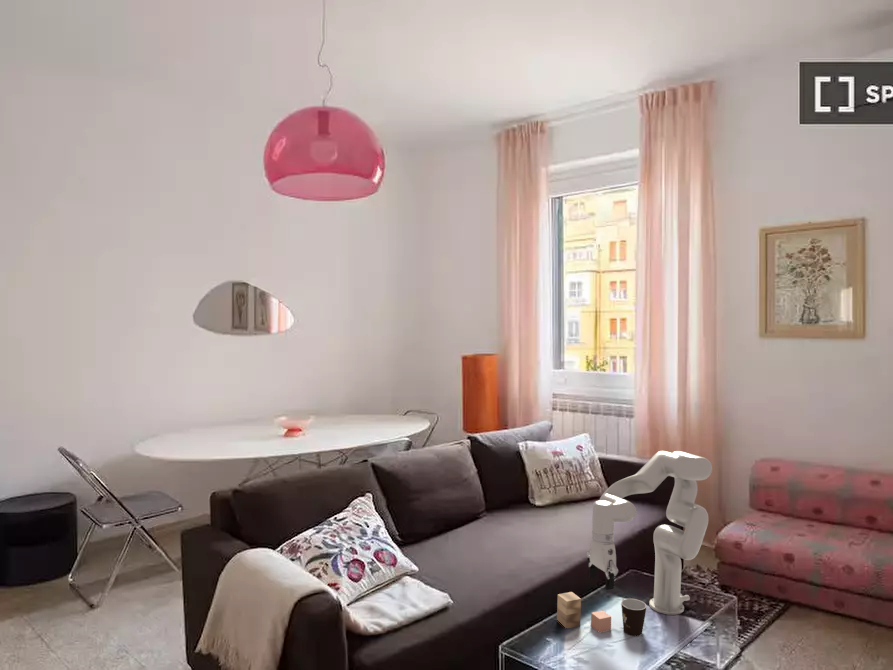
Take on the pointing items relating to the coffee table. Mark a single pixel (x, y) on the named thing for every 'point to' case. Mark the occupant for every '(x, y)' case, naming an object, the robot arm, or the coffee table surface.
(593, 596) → the coffee table surface
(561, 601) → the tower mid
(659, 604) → the robot arm
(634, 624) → the coffee mug
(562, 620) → the tower base
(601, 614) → the terracotta block
